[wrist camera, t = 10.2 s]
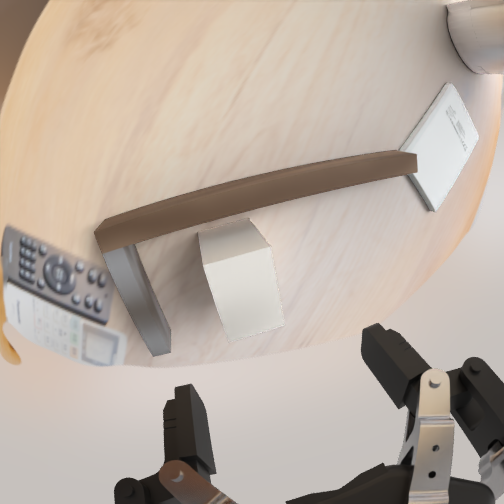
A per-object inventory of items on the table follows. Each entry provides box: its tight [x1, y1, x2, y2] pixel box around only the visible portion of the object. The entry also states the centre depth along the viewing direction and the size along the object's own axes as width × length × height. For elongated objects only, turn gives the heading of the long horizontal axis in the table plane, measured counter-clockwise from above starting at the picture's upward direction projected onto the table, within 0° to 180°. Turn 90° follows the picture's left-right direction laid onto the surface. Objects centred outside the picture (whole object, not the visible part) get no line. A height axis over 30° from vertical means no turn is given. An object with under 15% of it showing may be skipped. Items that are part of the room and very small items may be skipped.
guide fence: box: [94, 150, 418, 357], centre depth 21 cm, size 11×25×3 cm, turn 102°
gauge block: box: [198, 218, 285, 343], centre depth 20 cm, size 6×4×6 cm, turn 12°
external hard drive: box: [399, 83, 479, 212], centre depth 23 cm, size 2×8×12 cm
